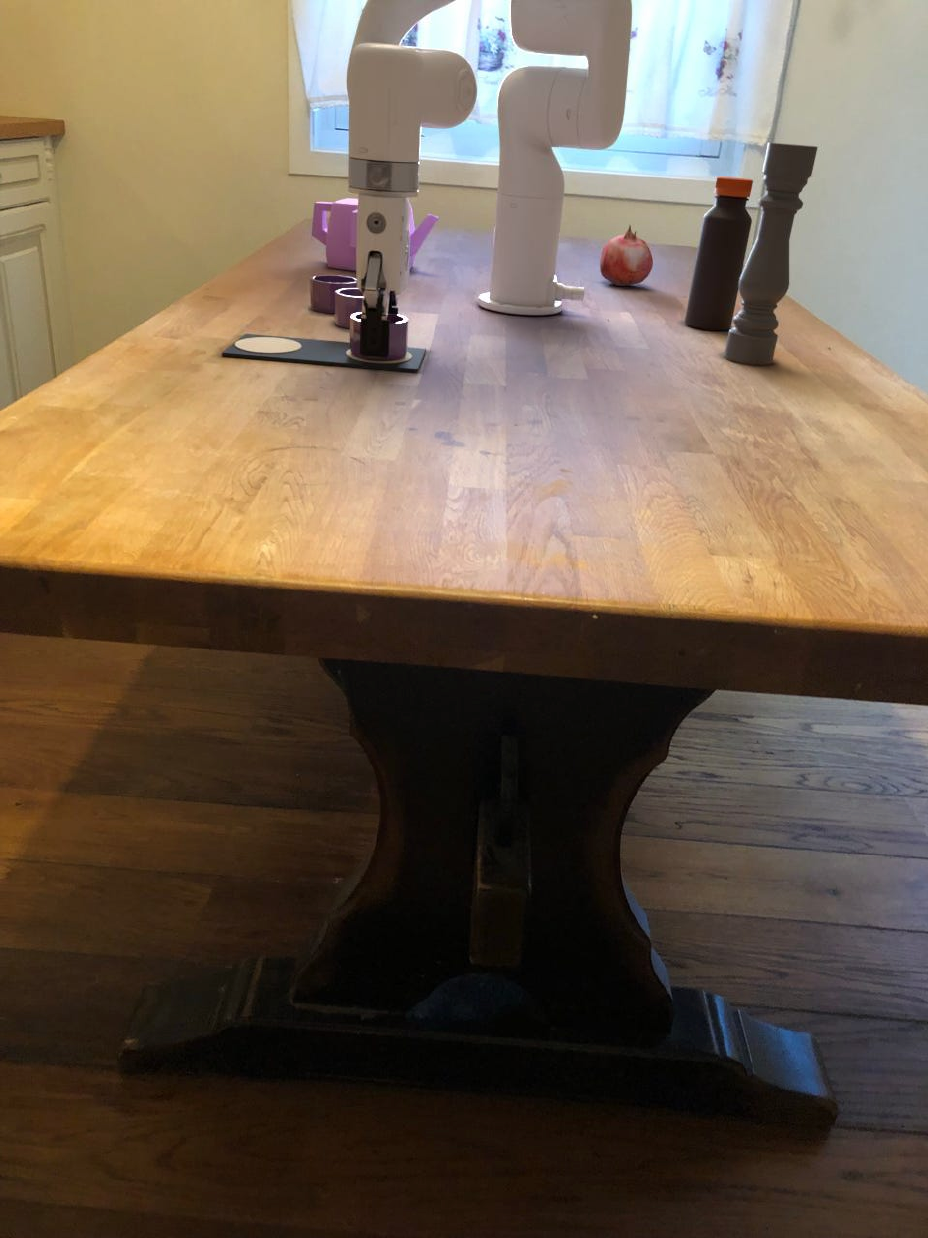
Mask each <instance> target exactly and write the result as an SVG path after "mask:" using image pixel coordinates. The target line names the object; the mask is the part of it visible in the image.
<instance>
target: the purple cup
mask: <svg viewBox="0 0 928 1238" xmlns="http://www.w3.org/2000/svg"><path fill="white" fill-rule="evenodd" d="M309 281H310V282H309V287H310V288H309V294H310V295H309V296H310V298H309V300H310V303H309V304H310V309H311V310H312V311H316V312H319V313H324V314H334V315H335V291H337V290H339V289H344V288H357V277H352V276H348V275H339V274H318V275H312V276H311V277H310V278H309Z"/></svg>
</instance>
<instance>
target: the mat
mask: <svg viewBox="0 0 928 1238" xmlns="http://www.w3.org/2000/svg"><path fill="white" fill-rule="evenodd" d="M426 353H427V348H420V347H409V346H407V355H406V356H405V357H403V358H400V359H395V360H373V359H366V358H361V357H357V356H355V355H353V354H351V352H350V341H336V340H327V339H326V340H324V339H313V338H302V337H292V336H291V337H289V336H278V335H277V336H276V335H266V334H254V333H253V334H252V333H245V334H244V335H242V336H241V337H240V338H238V339H237V340H236V341H235V342H234V343H232V344H231V345H230V346H229V347H228V348H226V349H225V350H224V351H222V352H221V356H222V357H228V358H241V359H251V360H261V361H262V360H263V361H274V362H285V363H286V362H287V363H297V364H298V363H300V364H308V365H309V364H310V365H321V366H322V365H323V366H332V367H333V366H335V367H346V368H358V369H369V370H382V371H392V372H393V371H394V372H405V373H415V374H416V373H417V374H418V373H419V370H420V368H421V365H422V363H423V360H424V358H425V355H426Z"/></svg>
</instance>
